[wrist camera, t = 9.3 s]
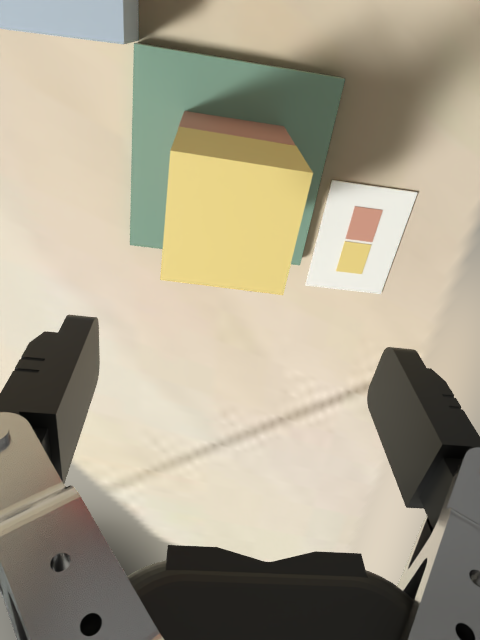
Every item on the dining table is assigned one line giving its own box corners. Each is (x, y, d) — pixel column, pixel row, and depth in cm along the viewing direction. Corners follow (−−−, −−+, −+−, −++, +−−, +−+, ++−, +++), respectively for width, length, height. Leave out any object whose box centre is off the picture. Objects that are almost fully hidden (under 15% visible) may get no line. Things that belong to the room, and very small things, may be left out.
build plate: (136, 42, 26) (133, 43, 25) (341, 77, 27) (345, 79, 26) (132, 239, 32) (129, 245, 32) (297, 259, 34) (299, 265, 33)
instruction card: (331, 179, 31) (332, 180, 30) (416, 191, 31) (418, 192, 31) (305, 284, 35) (305, 285, 35) (380, 293, 36) (381, 294, 35)
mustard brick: (179, 126, 23) (170, 150, 19) (296, 145, 24) (312, 173, 19) (169, 238, 26) (160, 279, 22) (272, 251, 27) (283, 295, 23)
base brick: (184, 110, 27) (178, 127, 23) (284, 126, 28) (295, 145, 24) (177, 208, 30) (170, 239, 26) (266, 220, 31) (273, 251, 27)
